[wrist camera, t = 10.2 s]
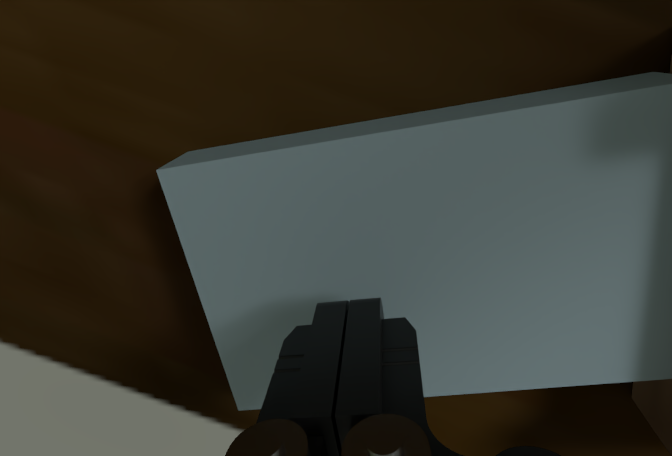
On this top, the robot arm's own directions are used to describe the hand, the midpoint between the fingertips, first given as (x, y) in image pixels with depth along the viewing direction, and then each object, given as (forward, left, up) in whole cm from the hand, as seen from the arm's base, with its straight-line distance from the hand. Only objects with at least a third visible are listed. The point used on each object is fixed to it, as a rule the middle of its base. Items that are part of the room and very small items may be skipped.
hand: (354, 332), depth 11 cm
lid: (-1, +2, -4) cm, 4 cm away
